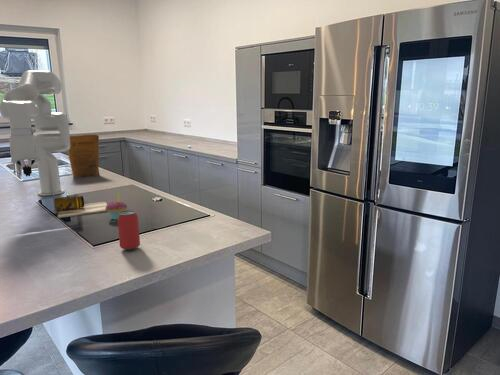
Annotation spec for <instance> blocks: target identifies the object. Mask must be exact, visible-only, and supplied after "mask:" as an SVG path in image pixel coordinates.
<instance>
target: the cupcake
mask: <svg viewBox="0 0 500 375" xmlns="http://www.w3.org/2000/svg"><path fill="white" fill-rule="evenodd" d="M116 199H117V200H116V201H112V202H109V203H108V204H107V206H106V211H107V212H106V213H108V214H109V216H110V218H111V219H112V220H117V221H118V216H119V213H120V212H122V211H126V210H127V209H128V206H127V204H126V203H125V202H123V201H121V200H120V190H118V192H117V198H116Z"/></svg>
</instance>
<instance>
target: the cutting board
mask: <svg viewBox="0 0 500 375" xmlns="http://www.w3.org/2000/svg"><path fill="white" fill-rule="evenodd" d="M107 205H108V204H107V202H106V201H99V202H90V203H84V207H80V208H77V209H71V210H64V211H57V218H58V219H60V218H69V217H70V218H71V217H76V216H77V217H78V216H85V215H91V214H92V215H93V214H99V213H100V214H101V213H108V212H107V211H106V206H107Z"/></svg>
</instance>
